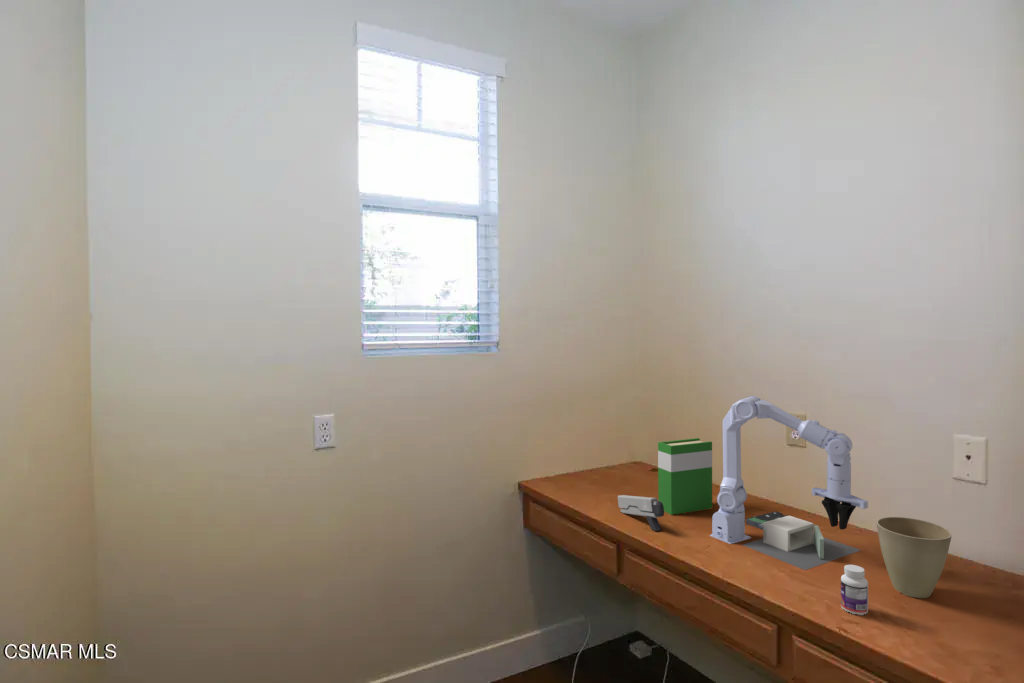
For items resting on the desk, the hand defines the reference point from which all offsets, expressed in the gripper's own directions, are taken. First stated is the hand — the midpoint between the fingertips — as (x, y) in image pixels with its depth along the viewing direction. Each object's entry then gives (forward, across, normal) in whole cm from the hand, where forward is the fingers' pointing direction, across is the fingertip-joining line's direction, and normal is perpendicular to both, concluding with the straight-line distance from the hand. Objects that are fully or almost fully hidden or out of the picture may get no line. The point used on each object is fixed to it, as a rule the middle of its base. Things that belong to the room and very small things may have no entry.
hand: (838, 527), depth 155 cm
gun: (+10, +52, +26) cm, 59 cm away
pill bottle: (+10, -18, +23) cm, 30 cm away
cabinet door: (+9, +6, -1) cm, 10 cm away
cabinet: (+9, +14, +1) cm, 17 cm away
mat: (+9, +10, +1) cm, 14 cm away
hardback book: (+10, +54, +3) cm, 54 cm away
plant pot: (+10, -20, +2) cm, 22 cm away
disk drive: (+10, +26, -9) cm, 30 cm away
